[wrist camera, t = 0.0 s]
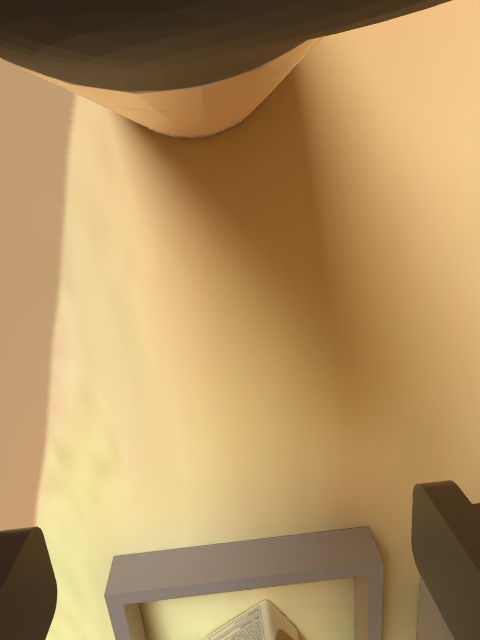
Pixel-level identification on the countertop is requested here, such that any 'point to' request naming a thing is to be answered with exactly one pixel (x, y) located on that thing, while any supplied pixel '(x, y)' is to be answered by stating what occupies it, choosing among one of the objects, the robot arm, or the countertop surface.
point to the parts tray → (248, 574)
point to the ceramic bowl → (430, 618)
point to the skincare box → (257, 625)
